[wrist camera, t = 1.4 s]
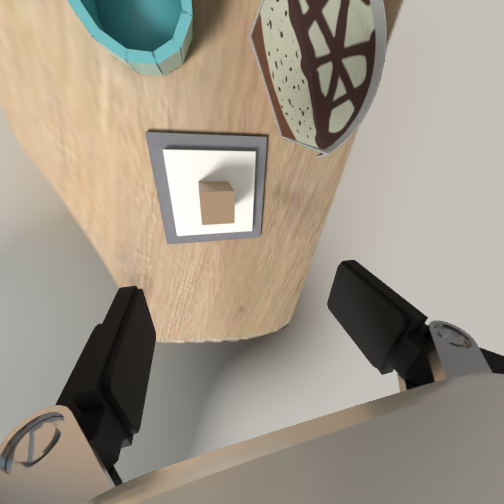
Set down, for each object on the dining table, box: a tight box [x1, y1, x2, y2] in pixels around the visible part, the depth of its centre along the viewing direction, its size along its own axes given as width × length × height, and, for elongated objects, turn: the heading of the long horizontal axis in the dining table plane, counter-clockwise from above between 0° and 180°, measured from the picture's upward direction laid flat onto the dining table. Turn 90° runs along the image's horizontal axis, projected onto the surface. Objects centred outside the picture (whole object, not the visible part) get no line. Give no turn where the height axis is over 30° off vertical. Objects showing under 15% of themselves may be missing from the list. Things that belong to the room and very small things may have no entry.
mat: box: [145, 132, 267, 244], centre depth 26 cm, size 13×13×1 cm
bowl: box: [67, 0, 193, 76], centre depth 15 cm, size 8×8×5 cm
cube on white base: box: [163, 149, 256, 236], centre depth 23 cm, size 10×10×5 cm
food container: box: [249, 0, 387, 158], centre depth 18 cm, size 12×6×10 cm, turn 24°
